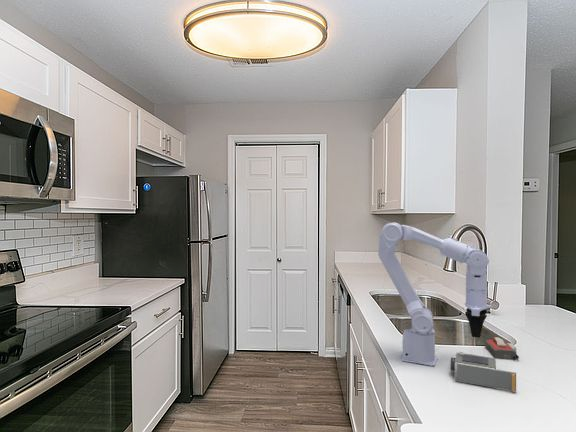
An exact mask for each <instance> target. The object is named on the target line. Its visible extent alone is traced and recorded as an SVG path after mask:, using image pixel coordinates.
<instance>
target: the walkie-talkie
mask: <svg viewBox="0 0 576 432" xmlns="http://www.w3.org/2000/svg"><path fill="white" fill-rule="evenodd" d="M484 341H485V342H484V348H485V349H486V350H487V351H488V352H489V354H490V355H491V356H492V358H496V360H509V361H516V360H519V359H520V356H519V355H518V354H517V346H516V345H515V344H514V343H511V342H510V343H509V342H508V341H507V340H506V339H505V338H504V337H497V336H496V337H495V336H493V337H492V339H486V340H484Z"/></svg>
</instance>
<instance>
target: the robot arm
mask: <svg viewBox="0 0 576 432" xmlns="http://www.w3.org/2000/svg"><path fill="white" fill-rule="evenodd" d="M382 227H383V228H382V229H381V231H380V233H379V234H378V236H379V241H378V251H377V252H378V258H379V259H380V262H381V264H382V265H383V267H384V269H385V270H386V272H387V274H388V276H389V277H390V279H391V281H392V283H393V285H394V287H395V288H396V290H397V292H398V294H399V297H400V298H401V300H402V301H403V303H404V305H405V306H406V310H407V313H408V315H409V317H410V320H411V327H410V329H404V330H403V333H402V359H401V361H402V362H406V363H407V362H408V363H413V364H420V365H424V366H425V365H426V366H432V367H434V366H436V363H437V361H438V356H436V331H435V329H434V326H435V325H434V314H433V312H432V311H431V310H430V309H429V308H427V307H426V305H425V304H424V303H423V301H422V300H421V298H420V297H419V295H418V293H417V292H416V289H415V288H414V287H413V285H412V283H411V281H410V279H409V277H408V275H407V274H406V272H405V270H404V268H403V267H402V264H401V263H400V261H399V259H398V258H397V256H396V251H397V248H398V244H399V242H400V241H401V240H402V239H403V241H412V240H415V241H417V242H418V243H422V244H425V245H427V246H430V247H433V248H436V249H437V250H439V252H440V255H441V256H444V257H446V258H449V259H450V260H453V261H456V262H458V263H461V264H464V263H466V273H465V303H464V306H465V307H466V309H465V312H464V313H465V317H466V318H467V321H468V325H469V328H470V333H471V337H473V338H477V339H478V338H481V335H482V331H483V325H484V322H485V320H486V318H487V317H488V315H487V313H488V309H492V305H491V304H488V274H487V272H488V270H487V269H488V266H489V263H490V259H489V258H488V255H487V254H486V252H484V251H483V250H482V249H479V248H478V247H474V245H472V244H466V243H463V242H461V241H458V238H456V237H451V238H450V237H447V238H445V239H441V238H439V237H436V236H435V235H433V234H431V233H428V232H426V231H424V230H421V229H419V228H416V227H414V226H411V225H407V224H400V223H398V222H395V221H394V222H389V223H386V224H385V225H383V226H382Z"/></svg>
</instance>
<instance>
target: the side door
mask: <svg viewBox="0 0 576 432" xmlns="http://www.w3.org/2000/svg"><path fill="white" fill-rule="evenodd" d="M454 382H460V383H466V384H472V385H478V386H482V387H487V388H488V387H489V388H494V389H501V390H504V391H505V390H506V391H510V392H511V391H512V392H517V372H515V371H507V370H504V369H503V370H501V369H497V368H496V369H490V368H484V367H478V366H471V365H465V364H459V363H455V371H454Z"/></svg>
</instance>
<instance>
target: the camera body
mask: <svg viewBox="0 0 576 432" xmlns="http://www.w3.org/2000/svg"><path fill="white" fill-rule="evenodd" d="M455 363H459V364H465V365H471V366H478V367H484V368H490V369H497V359H496V358H494V357H489V356H482V355H476V354H469V353H465V352H462V351H459V352H456V354H455V357H453V356H452V357H450V371H451V372H455Z"/></svg>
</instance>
